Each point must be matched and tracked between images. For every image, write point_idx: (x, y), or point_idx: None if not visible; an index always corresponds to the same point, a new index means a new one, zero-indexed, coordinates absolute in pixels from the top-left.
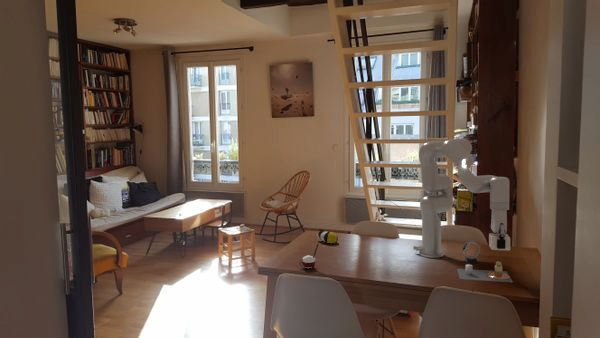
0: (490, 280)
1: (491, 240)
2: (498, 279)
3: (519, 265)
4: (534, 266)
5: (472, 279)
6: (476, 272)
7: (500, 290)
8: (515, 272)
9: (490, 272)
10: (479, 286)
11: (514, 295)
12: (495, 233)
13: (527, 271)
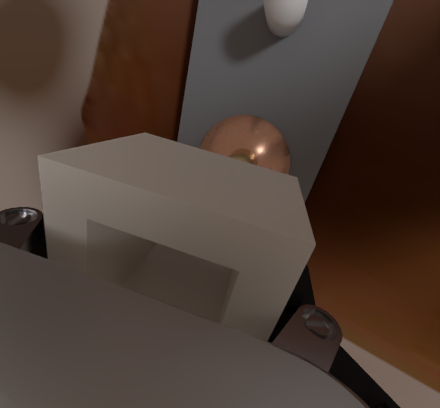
0: (187, 101)
1: (105, 152)
2: (199, 143)
3: (397, 319)
4: (367, 351)
5: (199, 7)
6: (306, 75)
7: (128, 111)
8: (316, 262)
9: (295, 150)
10: (162, 35)
11: (91, 139)
12: (286, 325)
13: (318, 302)
